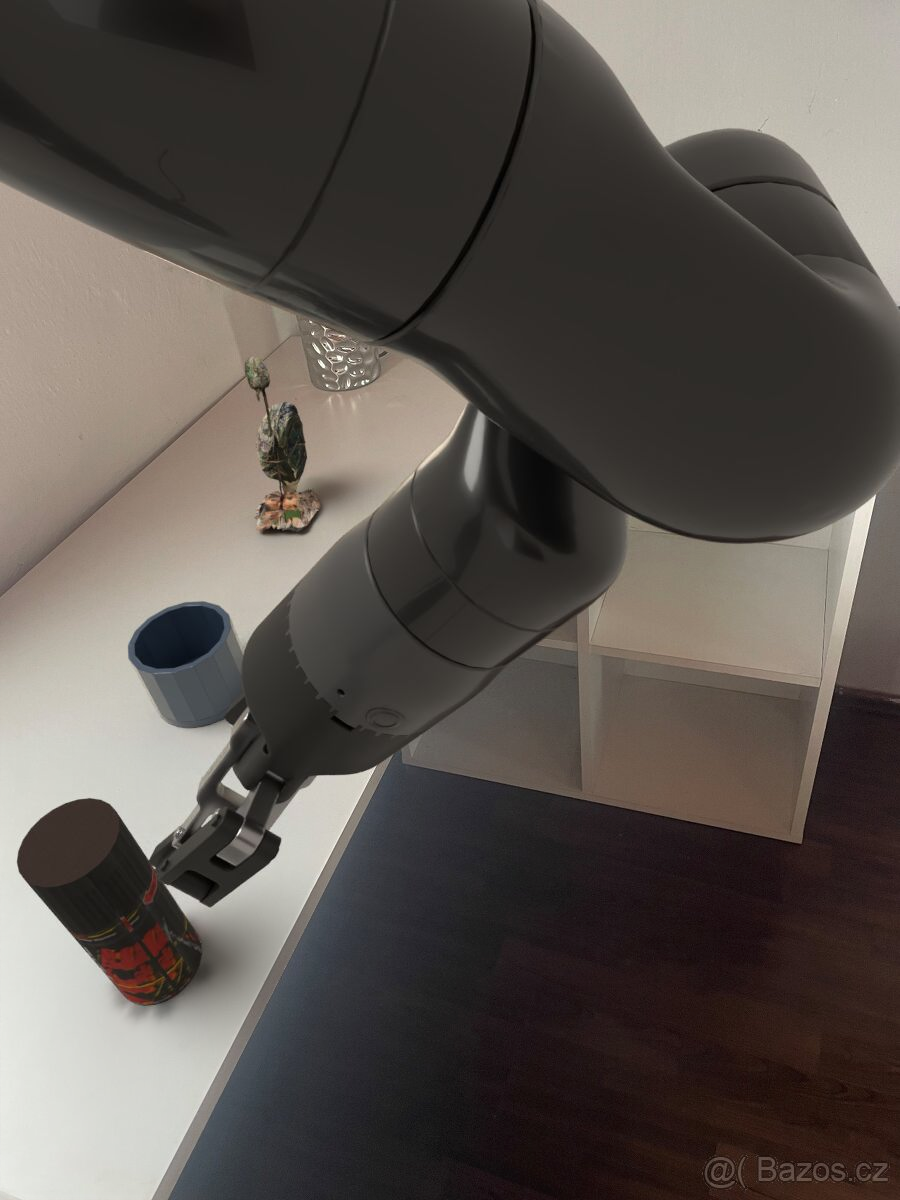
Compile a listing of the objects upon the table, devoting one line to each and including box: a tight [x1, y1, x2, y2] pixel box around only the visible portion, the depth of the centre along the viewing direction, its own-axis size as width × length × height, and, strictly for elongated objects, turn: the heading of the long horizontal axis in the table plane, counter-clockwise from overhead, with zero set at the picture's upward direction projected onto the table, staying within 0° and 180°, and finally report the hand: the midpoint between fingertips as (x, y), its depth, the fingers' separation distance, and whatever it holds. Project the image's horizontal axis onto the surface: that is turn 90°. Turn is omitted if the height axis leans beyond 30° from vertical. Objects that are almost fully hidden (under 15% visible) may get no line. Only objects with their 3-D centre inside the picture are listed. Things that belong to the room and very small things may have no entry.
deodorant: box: [16, 797, 203, 1006], centre depth 55 cm, size 6×6×15 cm
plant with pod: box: [244, 356, 321, 533], centre depth 94 cm, size 8×11×20 cm
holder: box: [127, 600, 245, 729], centre depth 78 cm, size 9×9×7 cm
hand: (208, 791), depth 43 cm, fingers open, 8 cm apart
